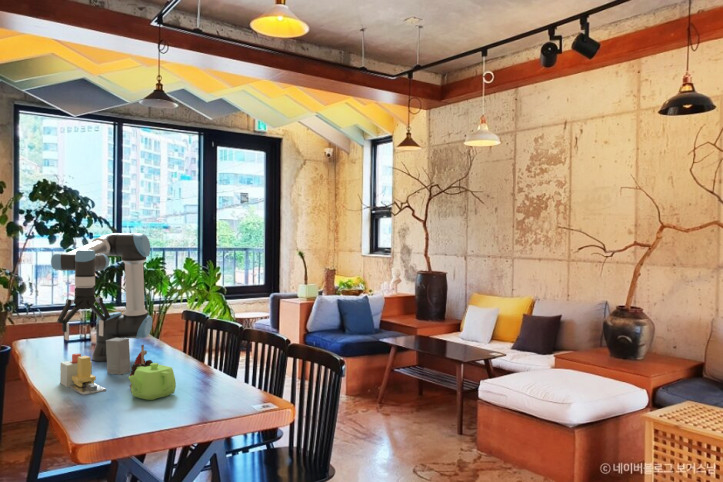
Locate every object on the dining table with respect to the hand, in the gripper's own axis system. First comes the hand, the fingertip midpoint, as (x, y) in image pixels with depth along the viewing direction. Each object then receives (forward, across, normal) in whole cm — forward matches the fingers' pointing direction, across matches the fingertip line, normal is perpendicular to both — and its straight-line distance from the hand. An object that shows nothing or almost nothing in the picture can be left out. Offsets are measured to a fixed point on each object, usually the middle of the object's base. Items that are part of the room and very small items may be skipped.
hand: (84, 337), depth 229 cm
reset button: (+13, 0, -8) cm, 15 cm away
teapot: (+21, -13, +32) cm, 41 cm away
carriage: (+19, 0, 0) cm, 19 cm away
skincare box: (+21, -20, -14) cm, 32 cm away
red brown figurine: (+21, -17, +17) cm, 32 cm away
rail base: (+20, 0, +4) cm, 21 cm away
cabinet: (+20, 0, -8) cm, 22 cm away
